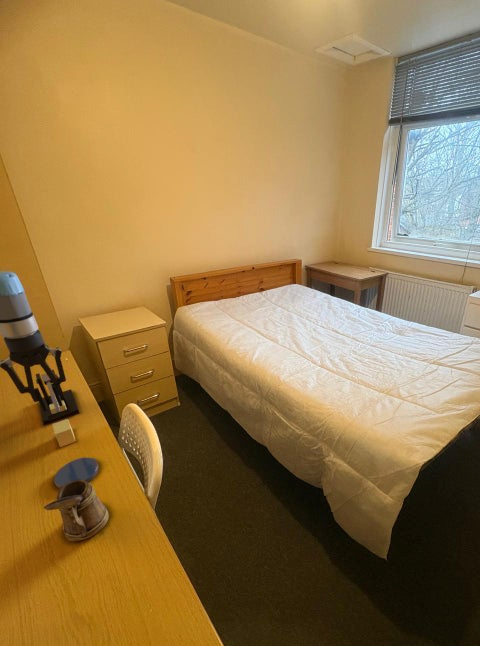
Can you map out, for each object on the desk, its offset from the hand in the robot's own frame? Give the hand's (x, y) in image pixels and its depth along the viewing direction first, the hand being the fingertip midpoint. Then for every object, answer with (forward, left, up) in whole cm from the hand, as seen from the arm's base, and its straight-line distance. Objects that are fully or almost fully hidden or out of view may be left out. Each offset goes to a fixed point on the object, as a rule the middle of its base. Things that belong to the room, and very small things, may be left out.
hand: (52, 406), depth 93 cm
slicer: (-13, +15, -13) cm, 24 cm away
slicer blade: (-10, +12, -5) cm, 16 cm away
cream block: (-9, +11, -11) cm, 18 cm away
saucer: (+12, -14, -13) cm, 22 cm away
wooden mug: (+24, -30, -13) cm, 40 cm away
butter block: (0, 0, -13) cm, 13 cm away
